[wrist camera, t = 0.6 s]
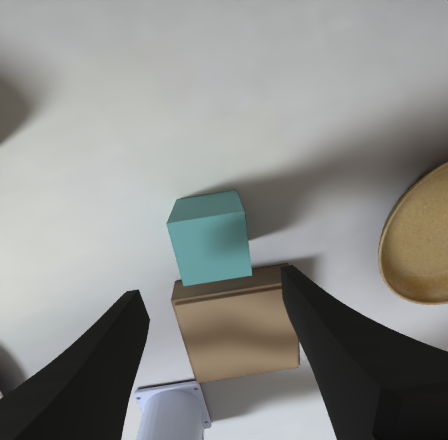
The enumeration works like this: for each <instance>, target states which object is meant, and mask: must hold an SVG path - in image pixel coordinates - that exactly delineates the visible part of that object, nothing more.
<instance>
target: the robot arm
mask: <svg viewBox="0 0 448 440" xmlns="http://www.w3.org/2000/svg"><path fill="white" fill-rule="evenodd" d="M280 268H281V284H282V299H283V302H284V305H285V308H286V311H287V314H288V317H289V320H290V322H291V324H292V326H293V328H294V330H295V333H296V335H297V337H298V339H299V341H300V343H301V346H302V348H303V350H304V352H305V354H306V356H307V358H308V361H309V363H310V365H311V368H312V370H313V372H314V375H315V378H316V381H317V383H318V386H319V389H320V392H321V395H322V397H323V400H324V403H325V406H326V409H327V412H328V415H329V417H330V420H331V423H332V426H333V429H334V432H335V435H336V438H337V440H448V352H447V351H444V350H441V349H438V348H436V347H433V346H430V345H427V344H425V343H422V342H420V341H417V340H415V339H413V338H410V337H408V336H405V335H403V334H401V333H399V332H396V331H394V330H392V329H390V328H388V327H386V326H384V325H382V324H380V323H377V322H375V321H373V320H371V319H370V318H368V317H366V316H364V315H362V314H360V313H359V312H357V311H355V310H353V309H352V308H350V307H348V306H347V305H345V304H343V303H342V302H340V301H339V300H337V299H336V298H334V297H333V296H331V295H330V294H329V293H327V292H326V291H324V290H323V289H322V288H320V287H319V286H318V285H316V284H315V283H314V282H313V281H311V280H310V279H309V278H308V277H306V276H305V275H304V274H303V273H302V272H300V271H299V270H298V269H297V268H296V267H294V266H293V265H290V266H284V267H280ZM149 322H150V319H149V316H148V313H147V311H146V308H145V305H144V302H143V300H142V297H141V294H140V292H139V290H132V291H127V292H126V293H124V294H123V295H122V296H121V297H120V298H119V299H118V300H117V301H116V302H115V303H114V304H113V305H112V306H111V307H110V308H109V309H108V311H107V312H106V313H105V314H104V315H103V316H102V317H101V318H100V319H99V320H98V321H97V322H96V323H95V324H94V325H92V326H91V327H90V328H89V329H88V330H87V331H86V332H85V333H84V334H83V335H82V336H81V337H80V338H79V339H78V340H76V341H75V342H74V343H73V344H72V345H71V346H70V347H69V348H67V349H66V350H65V351H64V352H63V353H62V354H60V355H59V356H58V357H57V358H55V359H54V360H53V361H52V362H51V363H49V364H48V365H47V366H45V367H44V368H43V369H41V370H40V371H39V372H37V373H36V374H35V375H33V376H32V377H31V378H29V379H28V380H27V381H25V382H24V383H23V384H21V385H20V386H18V387H17V388H16V389H14V390H13V391H11V392H10V393H8V394H7V395H5V396H4V397H2V398H1V399H0V440H121V437H122V432H123V426H124V421H125V417H126V412H127V407H128V402H129V398H130V394H131V390H132V387H133V384H134V380H135V377H136V374H137V370H138V367H139V364H140V361H141V357H142V354H143V351H144V347H145V344H146V340H147V335H148V329H149ZM133 396H134V398H135V400H136V402H137V404H138V406H139V408H140V410H141V412H142V416H141V421H140V425H139V429H138V434H137V438H136V440H204V429H206V428H210V427H211V420H210V417H209V413H208V410H207V407H206V403H205V400H204V397H203V393H202V390H201V387H200V383H198V381H191V382H184V383H178V384H171V385H165V386H159V387H152V388H146V389H139V390H135V391H134V394H133Z"/></svg>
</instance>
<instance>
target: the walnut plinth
mask: <svg viewBox="0 0 448 440" xmlns="http://www.w3.org/2000/svg"><path fill="white" fill-rule="evenodd" d="M284 266H289V264H288V263H287V264H281V265H275V266H269V267H262V268H256V269H252V276H245V277H239V278H233V279H227V280H220V281H214V282H208V283H201V284H195V285H189V286H183V282H182V280H180V281H175V284H174V289H173V293H172V298H171V302H172V306H173V309H174V312H175V315H176V318H177V322H178V325H179V328H180V331H181V335H182V338H183V341H184V344H185V348H186V351H187V354H188V357H189V361H190V364H191V367H192V370H193V374H194V377H195V380H196V381H198V383H202V382H209V381H215V380H222V379H228V378H235V377H241V376H247V375H254V374H260V373H267V372H273V371H280V370H286V369H292V368H298V365H300V350H299V339H298V337H297V335H296V333H295V330H294V328H293V326H292V324H291V322H290V320H289V317H288V314H287V311H286V308H285V305H284V302H283V299H282V284H281V268H280V267H284Z"/></svg>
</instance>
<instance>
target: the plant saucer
mask: <svg viewBox="0 0 448 440" xmlns="http://www.w3.org/2000/svg"><path fill="white" fill-rule="evenodd" d="M378 257H379V268H380V272H381V275H382V278H383V280H384V282H385V284H386V285H387V286H388V288H389V289H390V290H391V291H392V292H393V293H394V294H396V295H397V296H399V297H400V298H402V299H404V300H406V301H409V302H412V303H416V304H423V305H440V304H447V303H448V162H446V163H444V164H442V165H441V166H439V167H437V168H436V169H434V170H433V171H431V172H430V173H428V174H427V175H425V176H424V177H423V178H421V179H420V180H419V181H418V182H416V183H415V184H414V185H413V186H412V187H411V188H410V189H409V190H408V191H407V192H406V193H405V194H404V195H403V196H402V197H401V198H400V199H399V201H398V202H397V203H396V205H395V206H394V208H393V209H392V211H391V212H390V214H389V216H388V218H387V220H386V222H385V225H384V227H383V230H382V234H381V238H380V243H379V252H378Z"/></svg>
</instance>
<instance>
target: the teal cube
mask: <svg viewBox="0 0 448 440" xmlns="http://www.w3.org/2000/svg"><path fill="white" fill-rule="evenodd" d="M167 227H168V231H169V235H170V238H171V242H172V246H173V249H174V253H175V257H176V260H177V264H178V268H179V271H180V275H181V279H182V282H183V286H189V285H195V284H201V283H208V282H214V281H220V280H227V279H233V278H239V277H245V276H252V268H251V260H250V252H249V244H248V236H247V228H246V219H245V211H244V209H243V206H242V203H241V201H240V198H239V196H238V193H237V191H236V190H233V191H227V192H221V193H215V194H208V195H202V196H196V197H190V198H184V199H177V200H176V202H175V205H174V207H173V209H172V212H171V214H170V216H169V219H168V221H167Z"/></svg>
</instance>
